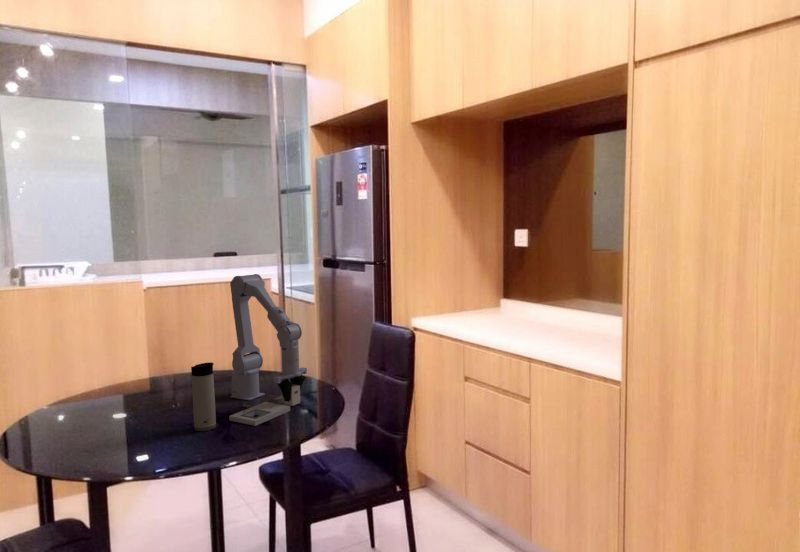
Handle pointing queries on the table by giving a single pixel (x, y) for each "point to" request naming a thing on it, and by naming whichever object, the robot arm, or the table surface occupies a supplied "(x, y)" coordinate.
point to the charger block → (294, 396)
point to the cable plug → (278, 400)
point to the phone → (260, 401)
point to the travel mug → (203, 397)
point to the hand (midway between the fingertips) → (291, 399)
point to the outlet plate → (259, 413)
